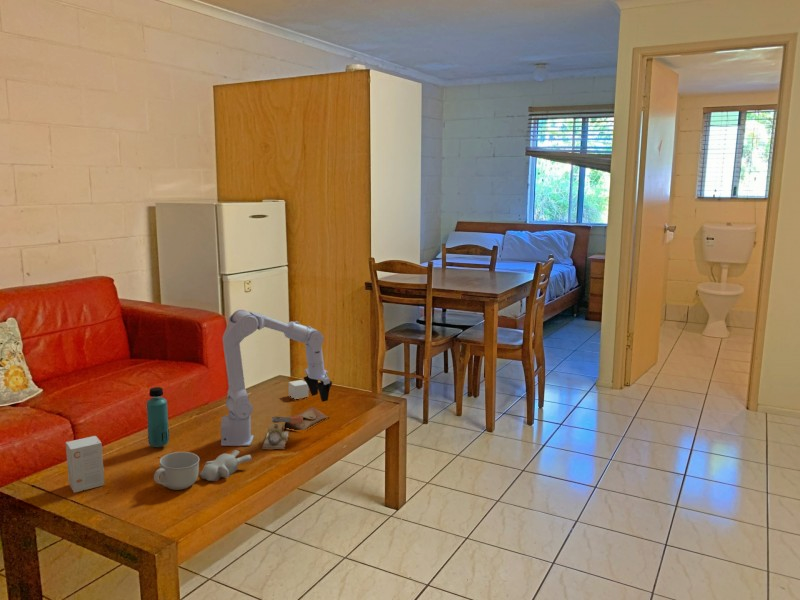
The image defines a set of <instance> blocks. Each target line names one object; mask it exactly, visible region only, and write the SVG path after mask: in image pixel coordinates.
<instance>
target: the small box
mask: <svg viewBox="0 0 800 600" xmlns="http://www.w3.org/2000/svg"><path fill="white" fill-rule="evenodd" d="M102 444H103V443H102V442H101V440H100V439H99V438H98V437H97V436H96V435H92V436H87V437H84V438H79V439H75V440H69V441H65V450H66V451H65V453H66V464H67V476H68V477H67V478H68V486H69V487H70V489H71V490H72V491H73V494H75V493H79V492H82V491H83V490H84V491H86V490H90V489H93V488H98V487H102V486H105V475H104V473H105V471H104V461H103V459H104V458H103V445H102Z"/></svg>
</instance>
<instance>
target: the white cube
mask: <svg viewBox="0 0 800 600" xmlns="http://www.w3.org/2000/svg"><path fill="white" fill-rule="evenodd" d="M309 392H310V390H309V387H308V385H307V383H306V381H305V380H304V379H299V380H298V379H297V380H293V381H288V397H290V396H291V397H292V398H294V399H299V398H304V397H309V394H310V393H309ZM291 397H290V398H291ZM292 398H291V399H292ZM294 399H293V400H294ZM299 400H300V399H299Z"/></svg>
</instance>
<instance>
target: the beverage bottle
mask: <svg viewBox="0 0 800 600" xmlns="http://www.w3.org/2000/svg"><path fill="white" fill-rule="evenodd" d="M148 394H149V397H150V398H149V399H148V400H147V401H146V403H145V404H146V415H147V416H146V419H147V442H148V445H149V446H150V447H153V448H154V447H155V448H159V447H165V446H167V445H168V444H169V442H170V429H169V413H168V412H169V411H168V400H167V399H166V398H164V397H163V395H164V391H163V388H162V387H160V386H158V387H156V386H155V387H151V388H150V389H149V393H148Z"/></svg>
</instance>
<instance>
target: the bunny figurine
mask: <svg viewBox="0 0 800 600" xmlns="http://www.w3.org/2000/svg"><path fill="white" fill-rule="evenodd" d="M239 454H240V451H239V450H237V449H235V450H233V451H231V453H221V454H219V455H218V456H216V459H214V460H208V461H206V462H204V463H205V465H204V467H203V468H202V471H199V474H200V478H202V479H204V480H206V481H208V482H209V481H210V482H211V481H212V482H217V481H219V480H220V479H221V478H229V477H230V475H232V474H234V473H235V472H236V471H237V470H238V468H239V464H243V463H246V462H251V461H252V460H253V459H252V456H251V454H245V455H242V456H240V457H237V456H238V455H239ZM236 457H237V458H236Z"/></svg>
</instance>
